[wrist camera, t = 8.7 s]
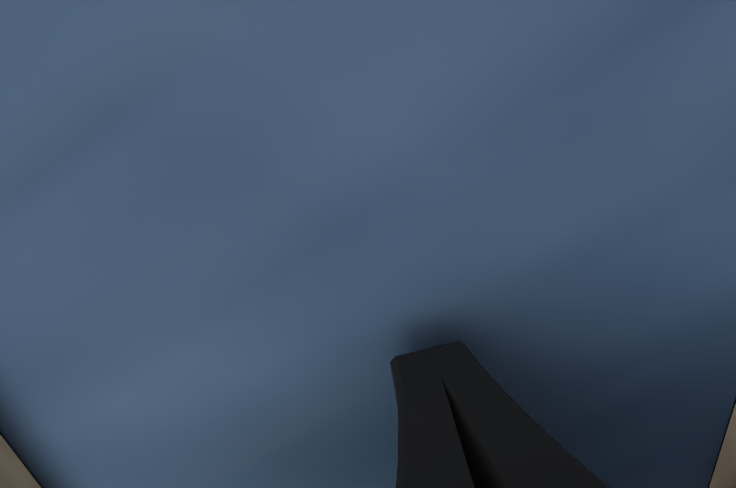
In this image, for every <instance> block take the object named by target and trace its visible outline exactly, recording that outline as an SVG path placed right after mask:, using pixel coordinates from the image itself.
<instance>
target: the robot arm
mask: <svg viewBox="0 0 736 488" xmlns="http://www.w3.org/2000/svg"><path fill="white" fill-rule="evenodd" d="M390 365H391V370H392V376H393V382H394V388H395V393H396V399H397V405H398V469H397V482H396V488H610V487H609V486H608V485H606V484H605V483H604V482H603V481H601V480H600V479H599V478H598V477H597V476H595V475H594V474H593V473H592V472H591V471H589V470H588V469H587V468H586V467H585V466H583V465H582V464H581V463H580V462H579V461H578V460H576V459H575V458H574V457H573V456H572V455H571V454H570V453H568V452H567V451H566V450H565V449H564V448H563V447H562V446H560V445H559V444H558V443H557V442H556V441H555V440H554V439H553V438H552V437H551V436H549V435H548V434H547V433H546V432H545V431H544V430H543V429H542V428H541V427H540V426H539V425H538V424H537V423H536V422H535V421H534V420H533V419H532V418H531V417H530V416H529V415H528V414H527V413H526V412H525V411H524V410H523V409H521V408H520V407H519V406H518V405H517V404H516V403H515V402H514V401H513V399H512V398H511V397H510V396H509V395H508V394H507V393H506V392H505V391H504V390H503V389H502V388H501V387H500V386H499V385H498V384H497V383H496V381H495V380H494V379H493V378H492V377H491V376H490V375H489V374H488V373H487V371H486V370H485V369H484V368H483V367H482V366H481V365H480V363H479V362H478V361H477V360H476V359H475V357H474V356H473V355H472V354H471V353H470V351H469V350H468V349H467V347H466V346H465V345H464V344H462V343H461V342H459V341H457V342H453V343H449V344H445V345H441V346H436V347H432V348H428V349H424V350H420V351H416V352H412V353H407V354H403V355H399V356H395V357H394V358H393V360H392V361H391V362H390Z"/></svg>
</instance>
